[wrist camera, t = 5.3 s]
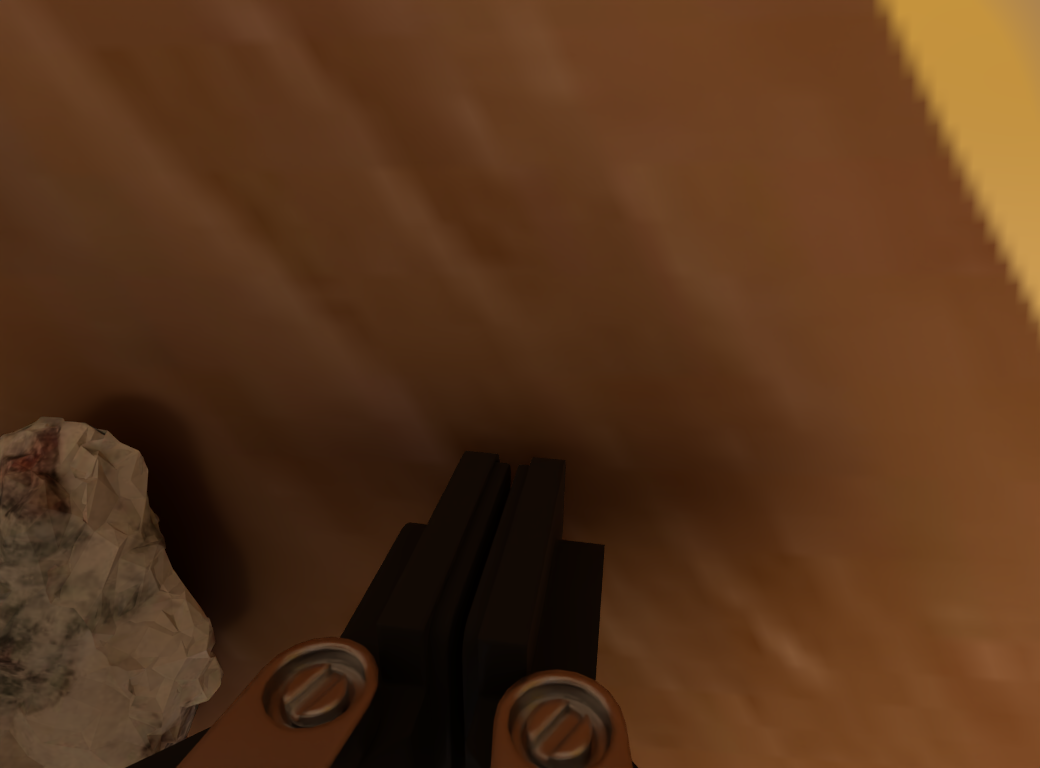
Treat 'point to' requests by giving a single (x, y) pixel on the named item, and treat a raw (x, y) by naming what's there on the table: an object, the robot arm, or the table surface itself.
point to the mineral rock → (90, 607)
